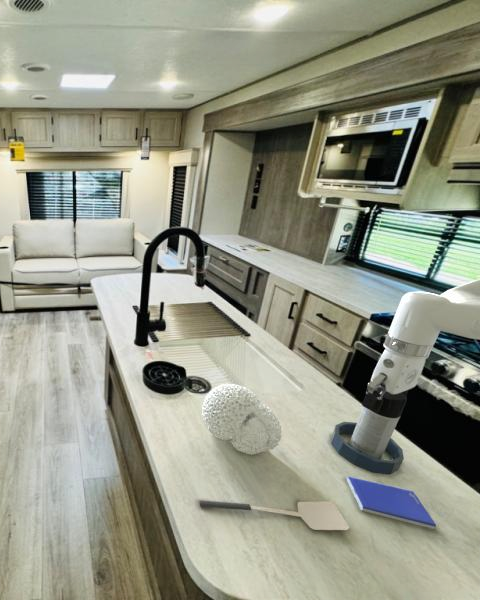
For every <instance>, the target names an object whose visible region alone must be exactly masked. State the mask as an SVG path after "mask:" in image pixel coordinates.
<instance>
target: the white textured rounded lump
mask: <svg viewBox="0 0 480 600" xmlns="http://www.w3.org/2000/svg"><path fill="white" fill-rule="evenodd" d="M201 409H202V411H201V414H202V415H201V416H202V419H203V422H204V425H205V426H206V427H207V430H208V431H209V432H210V433H212V434H213V436H215V438H217V439H219V440H222V441H224V442H227V441H229V440H230V441H229V442H230V444H232V446H233V448H234V449H235V450H236V451H238V452H240V453H243V454H247V455H258V454H261V453H264V452H266V451H269V450H274V448H276V447H277V445H278V446H279V442H281V439H282V432H283V431H282V425H281V422H280V420H279V418H278V416H276V414H275V413H274V412H273V410H271V408H270V407H269V406H267V405H266V404H264V403H263V404H262V403H261V400H260V399H259V397H258V396H257V395H256V394H255V392H253V391H252V390H251V389H249V388H247V387H245V386H242V385H240V384H237V383H222V384H220V385H219V384H218V385H217V386H214V388H212V389H210V391H209V392H208V393H207V395H206V396H205V398H204V400H203V403H202V407H201Z"/></svg>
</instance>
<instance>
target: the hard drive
mask: <svg viewBox="0 0 480 600" xmlns="http://www.w3.org/2000/svg"><path fill="white" fill-rule="evenodd" d="M346 482H347V484H348V486H349V489H350V490H351V492H352V495H353V497H354V499H355V500H356V502H357V505H358V506H359V509H360V510H361V512H365V513H368V514H372V515H377V516H381V517H384V518H389V519H392V520H397V521H401V522H404V523H409V524H413V525H415V526H419V527H423V528H427V529H432V530H435V529H436V527H437V524H436V522H435V521H434V519H433V518H432V516H431V515H430V513H429V512H428V511H427V509H426V507H425V506H424V504H422V502H421V500H420V499H419V497H418V496H417V495H416V493H415V492H414V491H413V490H409V489H405V488H401V487H396V486H392V485H388V484H383V483H378V482H374V481H370V480H364V479H361V478H357V477H352V476H347V478H346Z"/></svg>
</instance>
